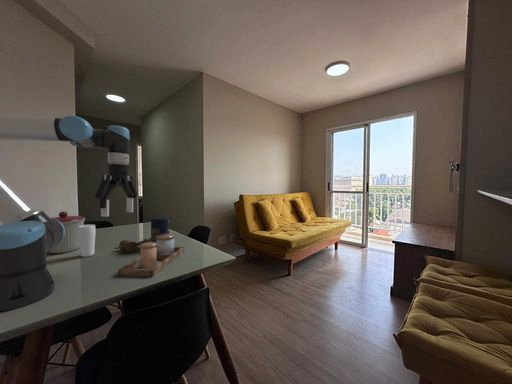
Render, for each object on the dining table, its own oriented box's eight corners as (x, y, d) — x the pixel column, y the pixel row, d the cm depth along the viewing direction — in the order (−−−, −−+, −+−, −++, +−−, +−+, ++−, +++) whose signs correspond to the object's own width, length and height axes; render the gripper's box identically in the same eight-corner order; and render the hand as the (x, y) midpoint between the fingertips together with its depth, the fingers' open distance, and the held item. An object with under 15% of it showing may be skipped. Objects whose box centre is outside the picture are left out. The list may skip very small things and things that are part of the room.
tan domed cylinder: (151, 270, 85) (151, 246, 85) (137, 269, 85) (136, 246, 85) (160, 264, 91) (159, 242, 91) (146, 263, 92) (145, 241, 91)
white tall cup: (99, 253, 105) (98, 224, 105) (87, 258, 98) (86, 227, 98) (87, 252, 106) (86, 224, 105) (74, 257, 99) (73, 227, 98)
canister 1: (76, 243, 122) (75, 208, 121) (93, 248, 114) (92, 210, 113) (33, 253, 105) (31, 212, 104) (49, 258, 97) (47, 215, 96)
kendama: (157, 247, 117) (117, 256, 101) (149, 244, 123) (110, 252, 107) (157, 237, 117) (117, 244, 101) (149, 234, 123) (110, 241, 107)
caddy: (152, 276, 79) (152, 270, 79) (118, 275, 80) (118, 269, 80) (184, 251, 108) (184, 247, 108) (158, 251, 109) (158, 246, 109)
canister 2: (152, 245, 119) (152, 214, 118) (170, 243, 122) (169, 213, 121) (149, 250, 110) (149, 217, 109) (168, 248, 113) (168, 216, 112)
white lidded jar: (169, 258, 98) (169, 238, 97) (152, 258, 98) (152, 237, 98) (177, 252, 106) (177, 233, 106) (162, 252, 107) (161, 233, 106)
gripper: (101, 160, 73) (101, 219, 74) (146, 167, 98) (145, 211, 99) (82, 160, 74) (82, 218, 74) (131, 166, 99) (130, 210, 99)
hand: (118, 214), depth 87 cm, fingers open, 13 cm apart
